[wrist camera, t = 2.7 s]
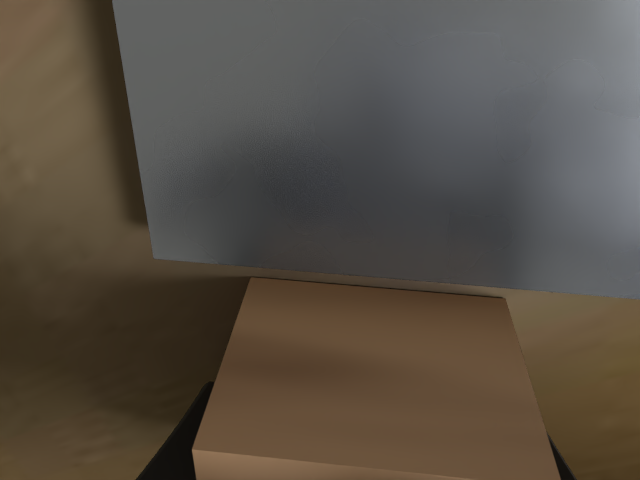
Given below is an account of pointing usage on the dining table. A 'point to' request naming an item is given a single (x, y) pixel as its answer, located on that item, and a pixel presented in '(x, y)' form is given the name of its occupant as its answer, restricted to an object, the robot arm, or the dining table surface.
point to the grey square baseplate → (392, 137)
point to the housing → (371, 389)
